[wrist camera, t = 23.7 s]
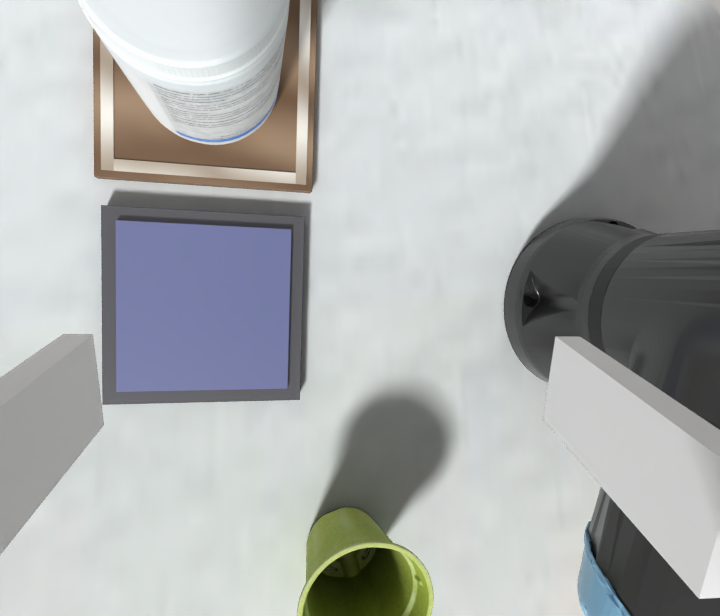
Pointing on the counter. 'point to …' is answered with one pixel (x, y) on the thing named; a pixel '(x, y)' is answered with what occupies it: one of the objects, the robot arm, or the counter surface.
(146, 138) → the board
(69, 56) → the counter surface
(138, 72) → the supplement tub
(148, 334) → the ink pad
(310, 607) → the plant pot
